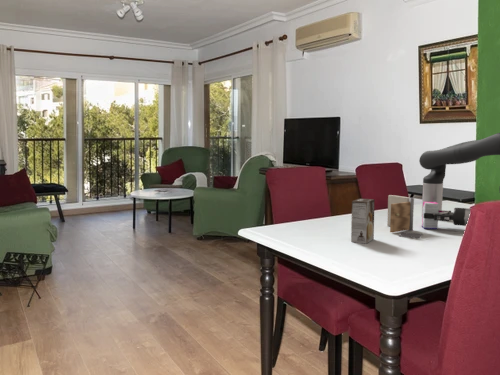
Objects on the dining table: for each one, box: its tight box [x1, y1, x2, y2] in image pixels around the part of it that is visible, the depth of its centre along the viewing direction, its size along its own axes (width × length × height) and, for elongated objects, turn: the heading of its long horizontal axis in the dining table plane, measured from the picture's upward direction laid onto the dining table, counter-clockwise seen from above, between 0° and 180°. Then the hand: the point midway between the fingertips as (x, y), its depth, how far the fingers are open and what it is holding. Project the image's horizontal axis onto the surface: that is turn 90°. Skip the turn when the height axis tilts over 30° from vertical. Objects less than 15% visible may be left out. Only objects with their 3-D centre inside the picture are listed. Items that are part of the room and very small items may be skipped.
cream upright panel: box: [386, 194, 415, 231], centre depth 201 cm, size 2×13×14 cm, turn 33°
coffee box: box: [350, 198, 375, 245], centre depth 177 cm, size 9×6×16 cm
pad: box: [398, 231, 423, 239], centre depth 187 cm, size 8×8×1 cm
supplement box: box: [421, 202, 439, 230], centre depth 201 cm, size 6×6×12 cm
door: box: [389, 202, 410, 233], centre depth 192 cm, size 11×2×12 cm, turn 123°
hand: (424, 214), depth 202 cm, fingers closed on supplement box, 7 cm apart
